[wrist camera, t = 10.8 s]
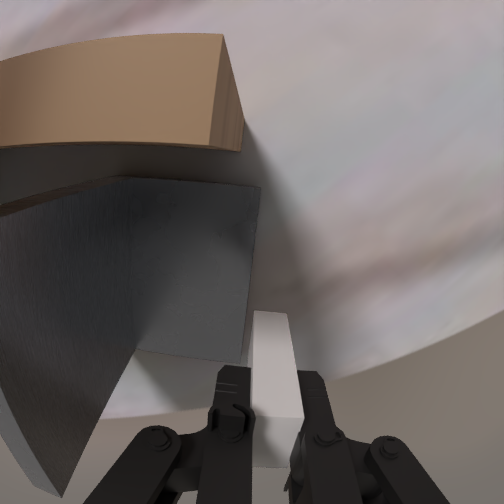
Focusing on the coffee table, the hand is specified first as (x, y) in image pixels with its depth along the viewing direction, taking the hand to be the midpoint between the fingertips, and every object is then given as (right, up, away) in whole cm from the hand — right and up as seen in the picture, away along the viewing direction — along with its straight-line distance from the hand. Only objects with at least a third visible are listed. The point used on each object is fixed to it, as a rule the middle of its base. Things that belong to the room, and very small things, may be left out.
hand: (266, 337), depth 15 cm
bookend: (-5, +3, +6) cm, 8 cm away
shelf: (-20, +6, +5) cm, 21 cm away
